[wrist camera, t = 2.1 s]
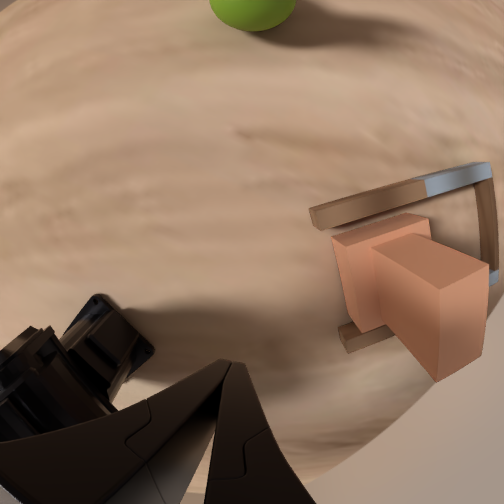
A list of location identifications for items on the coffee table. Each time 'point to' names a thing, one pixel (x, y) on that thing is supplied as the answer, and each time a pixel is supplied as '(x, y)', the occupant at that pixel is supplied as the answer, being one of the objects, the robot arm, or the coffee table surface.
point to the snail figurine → (252, 13)
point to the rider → (415, 291)
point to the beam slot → (405, 194)
